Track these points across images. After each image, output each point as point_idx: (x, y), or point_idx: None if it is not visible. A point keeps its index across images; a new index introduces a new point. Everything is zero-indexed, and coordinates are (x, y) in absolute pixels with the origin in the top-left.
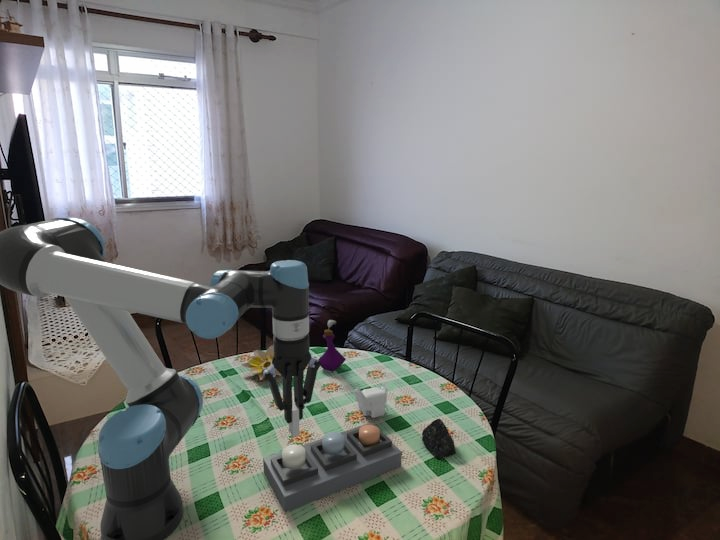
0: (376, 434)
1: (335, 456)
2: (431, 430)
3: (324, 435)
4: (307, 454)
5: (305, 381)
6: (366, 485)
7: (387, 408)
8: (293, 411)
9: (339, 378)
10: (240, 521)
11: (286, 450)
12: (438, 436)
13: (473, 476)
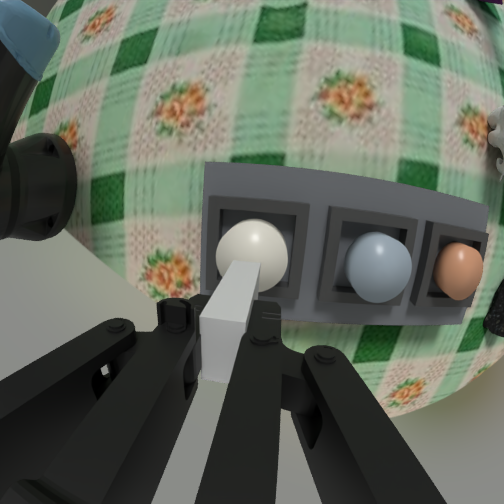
0: (465, 295)
1: None
2: None
3: (372, 242)
4: (304, 237)
5: (351, 474)
6: None
7: None
8: (207, 378)
9: (480, 18)
10: (139, 265)
11: (234, 240)
12: None
13: (474, 369)
